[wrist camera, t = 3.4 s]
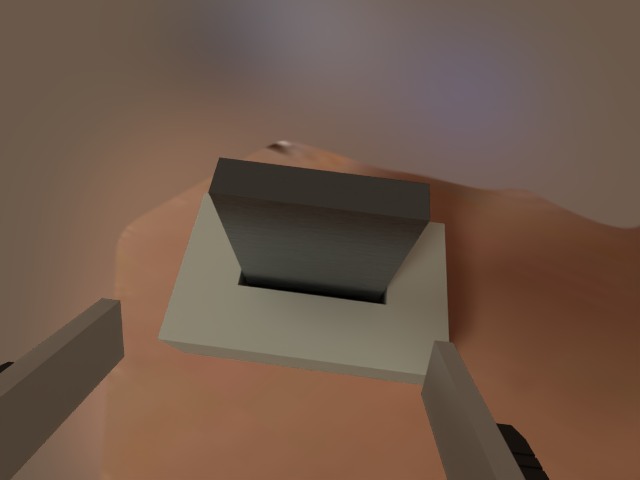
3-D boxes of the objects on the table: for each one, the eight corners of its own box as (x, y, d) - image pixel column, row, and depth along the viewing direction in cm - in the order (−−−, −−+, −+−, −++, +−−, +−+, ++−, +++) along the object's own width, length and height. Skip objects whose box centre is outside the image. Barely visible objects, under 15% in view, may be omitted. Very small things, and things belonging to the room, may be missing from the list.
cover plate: (371, 290, 31) (429, 184, 17) (369, 313, 30) (429, 220, 16) (258, 275, 31) (219, 157, 17) (253, 297, 30) (208, 192, 16)
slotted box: (422, 253, 34) (444, 223, 29) (423, 385, 29) (450, 378, 24) (219, 227, 35) (204, 192, 29) (184, 352, 29) (157, 338, 24)
